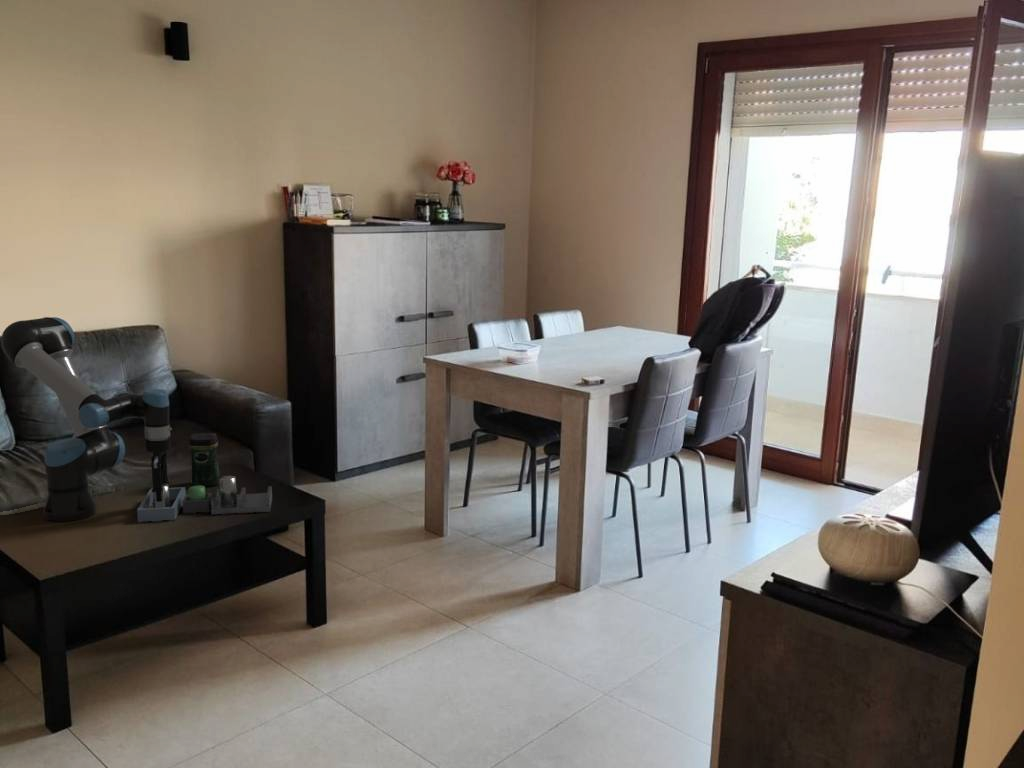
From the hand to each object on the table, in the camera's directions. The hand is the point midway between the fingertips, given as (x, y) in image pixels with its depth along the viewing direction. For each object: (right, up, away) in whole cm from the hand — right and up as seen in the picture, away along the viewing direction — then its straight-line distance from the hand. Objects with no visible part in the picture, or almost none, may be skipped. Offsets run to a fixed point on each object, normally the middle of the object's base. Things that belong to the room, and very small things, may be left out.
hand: (161, 507), depth 286 cm
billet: (0, -1, 0) cm, 1 cm away
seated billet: (+21, +2, +3) cm, 21 cm away
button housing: (+11, -1, +1) cm, 11 cm away
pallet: (+25, 0, +4) cm, 25 cm away
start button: (+11, 0, +1) cm, 11 cm away
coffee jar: (+5, +4, +28) cm, 29 cm away
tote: (0, -1, 0) cm, 1 cm away
